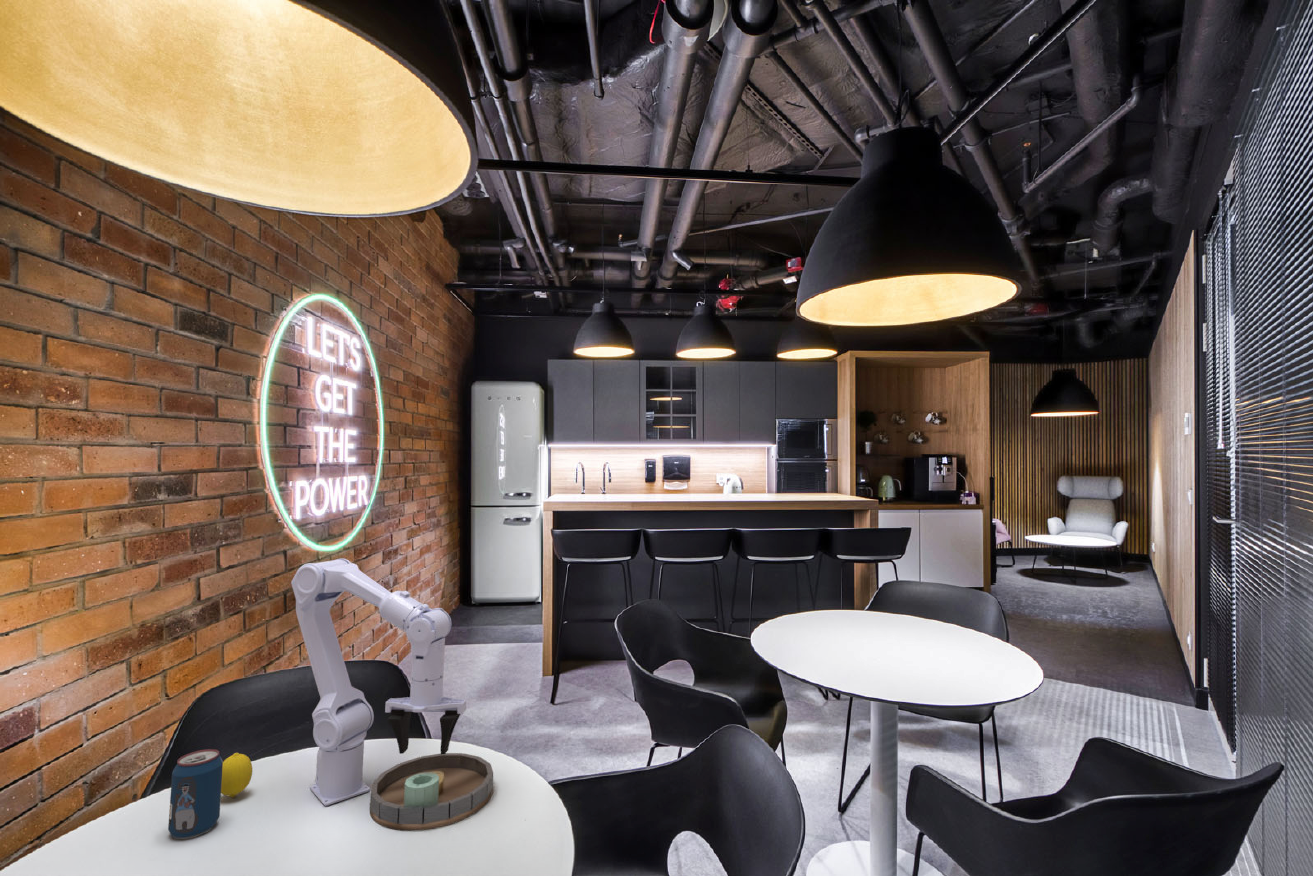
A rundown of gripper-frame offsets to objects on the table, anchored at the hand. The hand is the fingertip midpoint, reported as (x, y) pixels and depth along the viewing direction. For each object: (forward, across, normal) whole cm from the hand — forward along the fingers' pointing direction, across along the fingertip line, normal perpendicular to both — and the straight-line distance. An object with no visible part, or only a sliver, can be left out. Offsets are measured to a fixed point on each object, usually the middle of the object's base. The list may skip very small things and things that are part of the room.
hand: (424, 751), depth 111 cm
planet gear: (+8, +1, -4) cm, 9 cm away
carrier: (+9, +1, +2) cm, 9 cm away
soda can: (+10, -35, -9) cm, 38 cm away
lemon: (+10, -36, +1) cm, 37 cm away
